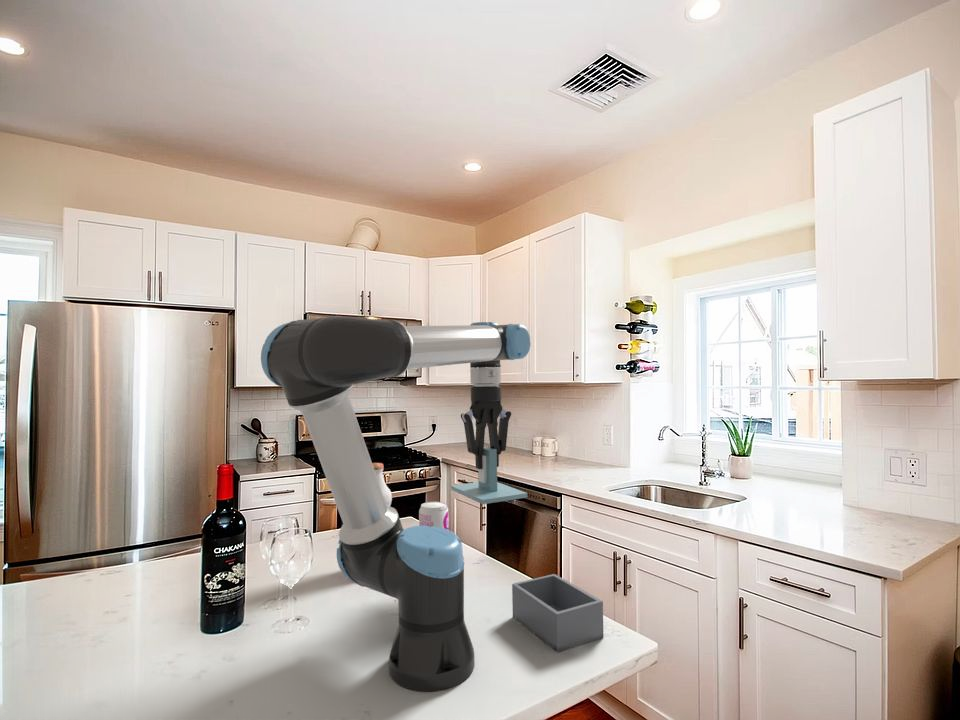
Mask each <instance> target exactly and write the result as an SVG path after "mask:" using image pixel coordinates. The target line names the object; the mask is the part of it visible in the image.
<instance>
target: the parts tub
mask: <svg viewBox="0 0 960 720" xmlns="http://www.w3.org/2000/svg"><path fill="white" fill-rule="evenodd" d="M511 590H512V592H511V593H512V594H511V596H512V597H511V598H512V600H511V601H512V603H511V604H512V618H513V619H514V620H515V621H517V622H518V623H519V624H521V625H523V627H525V628H526V629H527V630H528V631H529V632H531V633H532V634H534V635H535V636H536V637H538V639H540V640H541V641H542V642H544V643H545V644H547V645H548V646H549V647H550V648H551V649H552V650H554V651H555V652H556V653H560V652H564V651H566V650H569V649H574V648H577V647H579V646H581V645H585V644H587V643H591V642H593V641H594V642H595V641H597V640H600V639H603V638H604V602H603V600H601V599H599V598H598V597H596V596H594V595H593V594H591V593H589V592H587V591H585V590H584V589H582V588H580V587H579V586H577V585H575V584H573V583H572V582H570V581H568V580H566V579H565V578H562V577H561V576H559V575H558V574H555V573H552V574H547V575H545V576H540V577H535V578H531V579H527V580H524V581H518V582H514V583H512V584H511Z"/></svg>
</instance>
